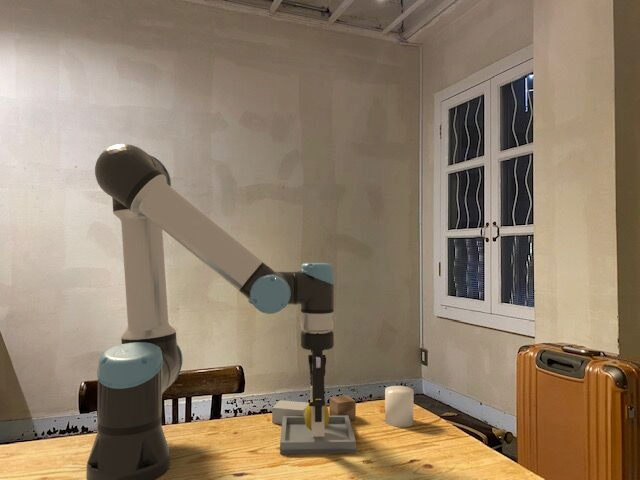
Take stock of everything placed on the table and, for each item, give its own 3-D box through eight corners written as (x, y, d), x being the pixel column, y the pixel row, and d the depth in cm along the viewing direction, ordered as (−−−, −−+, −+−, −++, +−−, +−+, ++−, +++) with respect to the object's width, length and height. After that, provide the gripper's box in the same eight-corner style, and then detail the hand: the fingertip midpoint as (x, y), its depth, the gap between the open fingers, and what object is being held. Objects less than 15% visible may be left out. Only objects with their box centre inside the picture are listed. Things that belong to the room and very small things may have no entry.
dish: (280, 454, 100) (280, 442, 100) (282, 426, 116) (282, 416, 116) (355, 453, 101) (355, 441, 101) (348, 425, 117) (348, 415, 117)
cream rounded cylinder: (387, 427, 116) (387, 394, 116) (382, 417, 123) (383, 385, 123) (416, 427, 116) (416, 393, 116) (409, 417, 123) (409, 385, 123)
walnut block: (337, 423, 118) (337, 403, 119) (329, 416, 123) (329, 397, 123) (355, 420, 120) (355, 400, 121) (346, 414, 125) (346, 395, 125)
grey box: (272, 423, 118) (272, 407, 118) (280, 415, 124) (280, 400, 124) (303, 426, 116) (303, 410, 116) (309, 418, 122) (309, 402, 122)
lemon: (329, 430, 111) (329, 395, 111) (327, 439, 105) (327, 403, 106) (306, 429, 111) (306, 394, 112) (302, 438, 106) (303, 402, 106)
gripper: (337, 340, 97) (337, 446, 96) (330, 322, 122) (329, 406, 121) (300, 340, 96) (300, 447, 96) (300, 322, 121) (300, 406, 121)
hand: (316, 424), depth 109 cm, fingers open, 13 cm apart
